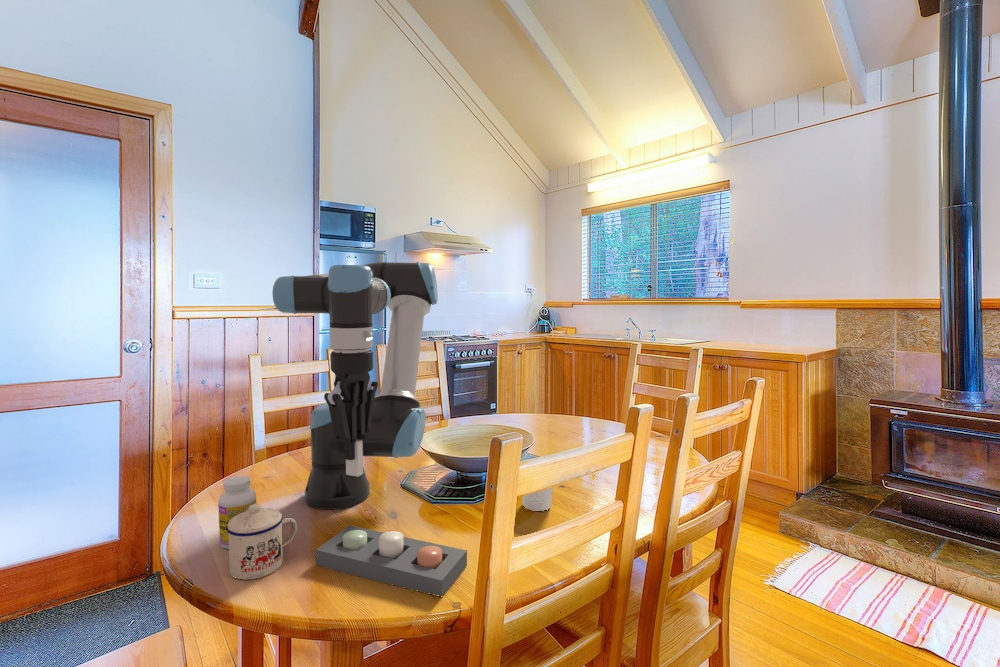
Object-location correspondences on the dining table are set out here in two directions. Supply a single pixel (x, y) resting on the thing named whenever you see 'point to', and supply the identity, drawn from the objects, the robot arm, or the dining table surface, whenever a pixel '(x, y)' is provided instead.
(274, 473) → the dining table surface
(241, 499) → the supplement bottle
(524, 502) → the white cup
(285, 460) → the dining table surface
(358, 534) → the sage button
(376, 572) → the button console
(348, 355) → the robot arm
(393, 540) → the cream button
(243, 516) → the teacup with lid
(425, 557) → the terracotta button
